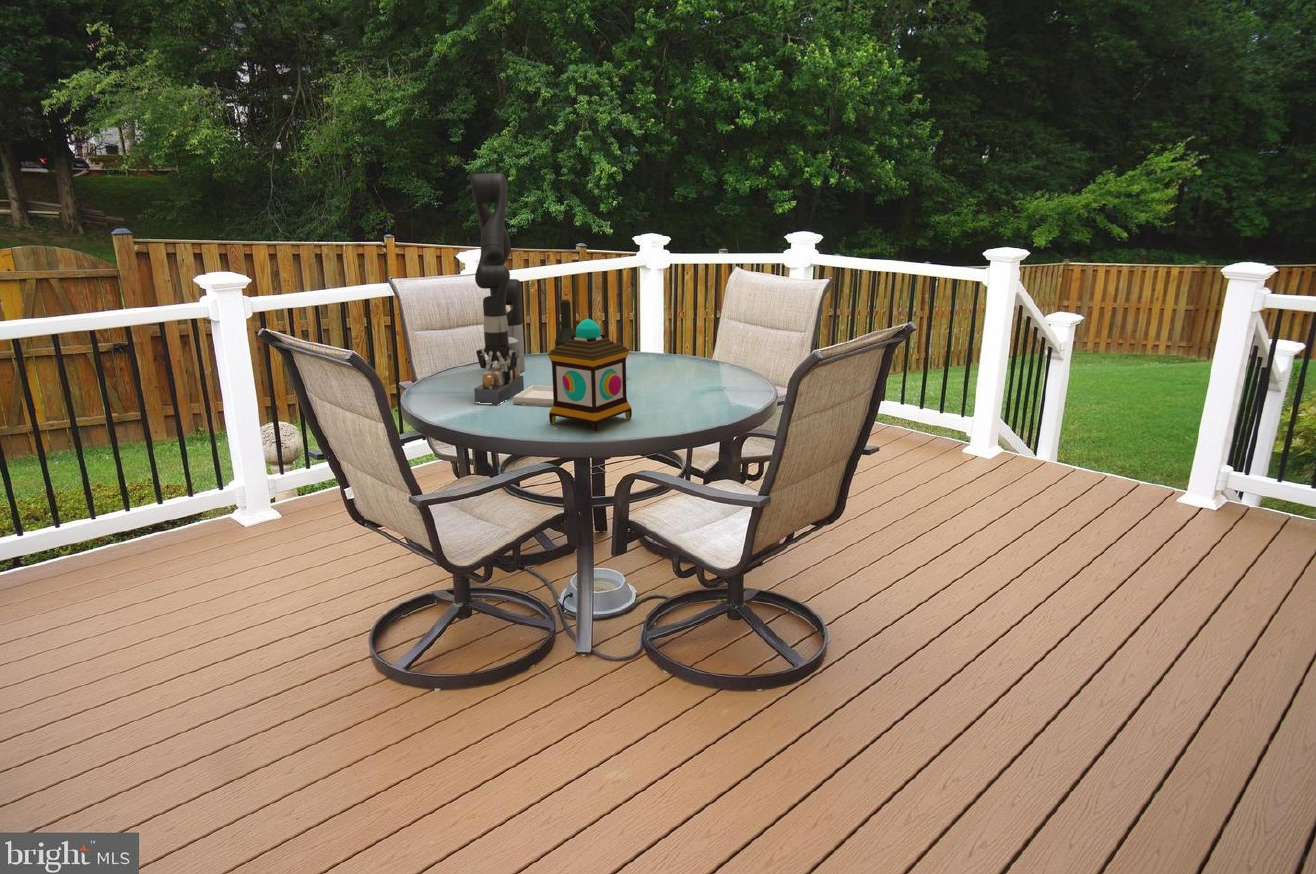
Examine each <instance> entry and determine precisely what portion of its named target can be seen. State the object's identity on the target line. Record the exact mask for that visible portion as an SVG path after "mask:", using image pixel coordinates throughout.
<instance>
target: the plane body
mask: <svg viewBox="0 0 1316 874" xmlns="http://www.w3.org/2000/svg"><path fill="white" fill-rule="evenodd" d="M509 364H510V363H509ZM512 375H513V379H511V380H510V381H509V382H508V383H504V384H502V385H500V386H495V385H494V375H493V374H485V373H484V374H482V375H481V377H482V379H481V380H482V384H480V385H479V386H476V387H474V389H473V392H474V402H480V403H492V404H500V403H501V402H503V401H505V400H507V401H509V400H510V398H511V397H512V398H513V396H515V395H516V394H518V393H520V392H521V391H523V390H525V385H524V383H525V382H524V375H520V376H519V366H518V364H516V368H514V369H513V370H512ZM512 398H511V399H512ZM508 399H509V400H508ZM500 405H501V404H500Z"/></svg>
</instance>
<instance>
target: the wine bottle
mask: <svg viewBox="0 0 1316 874" xmlns="http://www.w3.org/2000/svg"><path fill="white" fill-rule="evenodd" d="M571 304H572V303H571V301H570V298H562V299H561V301H560V317H561V318H560V321H561V323H560V324H561V327H560V329H559V331H558V334H557V335H556V338H555V340H554V343H555V344H554V348H555V347H556V346H560V345H563V344H564V343H566V342H567V341H568V340H570V339H571V337H572V336H576V331H575V330H574V329H573V327H572V312H571V311H572V310H571Z"/></svg>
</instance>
